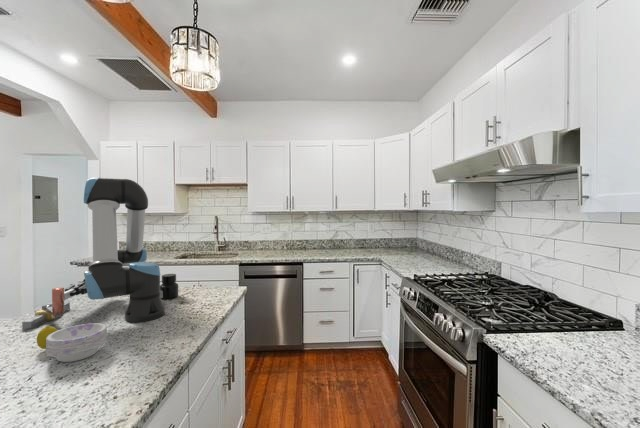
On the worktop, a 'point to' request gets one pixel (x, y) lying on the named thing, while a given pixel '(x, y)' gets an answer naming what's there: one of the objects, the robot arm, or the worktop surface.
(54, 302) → the lever
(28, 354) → the worktop surface
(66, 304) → the gray bar
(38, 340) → the lemon
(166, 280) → the ink bottle
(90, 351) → the paper bowls
